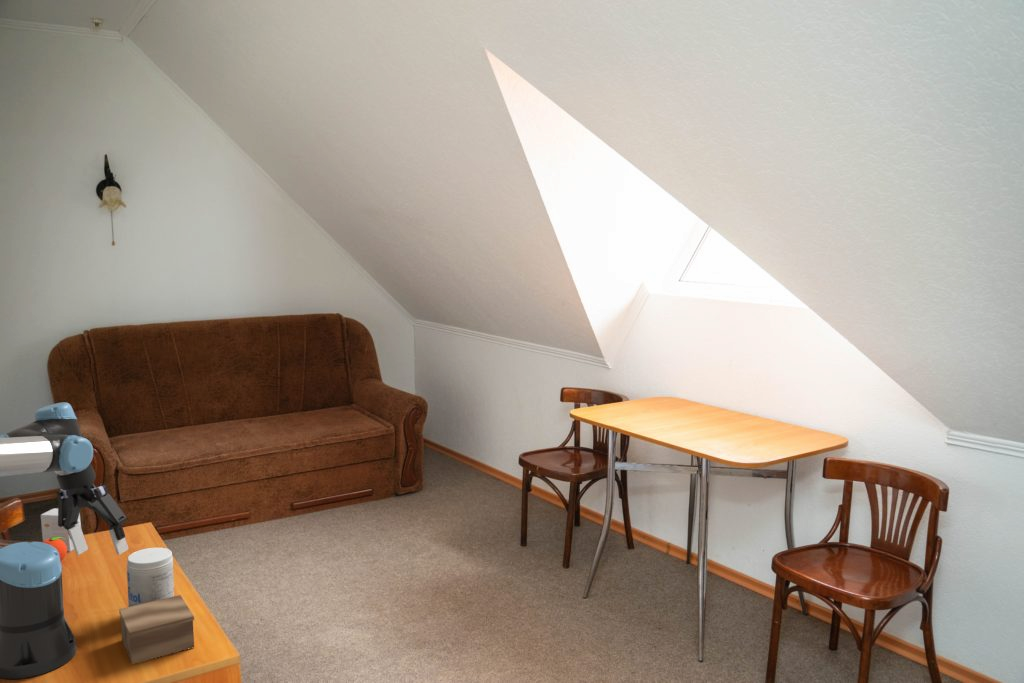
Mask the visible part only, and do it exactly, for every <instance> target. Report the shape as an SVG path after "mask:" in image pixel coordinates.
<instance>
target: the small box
mask: <svg viewBox="0 0 1024 683" xmlns="http://www.w3.org/2000/svg"><path fill="white" fill-rule="evenodd" d="M64 519H65V518H64ZM64 519H63V520H64ZM40 521H41V522H40V525H41V534H42V536H41V537H42V542H44V541H45V540H47V539H50V538H55V537H62V538H59V539H60V540H62V541H63V542H64V543H65V544H66V546H67V553H68V552H69V553H70V552H72V551H75V549H74V546H73V543H72V540H71V539H70V536H69V533H68V531H67V529H65V528H64V527H63V526H62V527H59V526H58V507H57V508H51V509H49V510H48V511H45V512H43V513H41V514H40ZM77 521H78V522H79V523H78V522H77V523H78V524H76V525H80V527H81V528H82V524H81V512H80V513H79V517H78V520H77ZM76 525H75V526H76ZM65 538H66V539H67V540H68V541H67V540H66V539H65Z"/></svg>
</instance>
